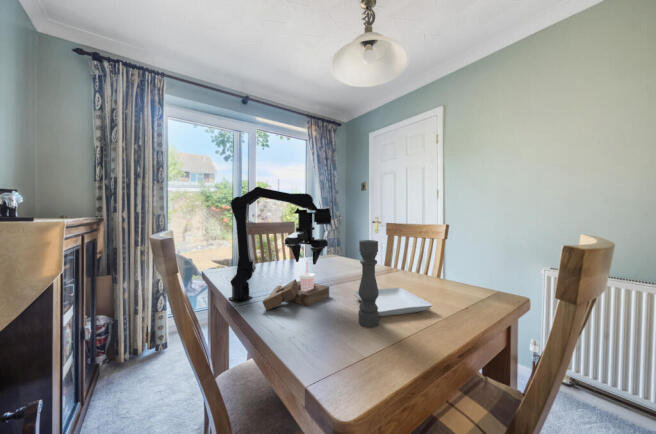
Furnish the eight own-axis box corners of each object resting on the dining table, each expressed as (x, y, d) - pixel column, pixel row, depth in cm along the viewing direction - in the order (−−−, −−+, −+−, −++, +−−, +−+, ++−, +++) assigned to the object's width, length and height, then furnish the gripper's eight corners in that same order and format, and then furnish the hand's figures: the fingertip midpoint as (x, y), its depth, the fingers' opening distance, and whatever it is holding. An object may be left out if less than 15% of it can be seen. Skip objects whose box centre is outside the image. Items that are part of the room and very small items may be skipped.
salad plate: (351, 299, 97) (351, 290, 97) (399, 294, 102) (399, 286, 102) (375, 322, 76) (375, 311, 76) (434, 315, 82) (434, 304, 81)
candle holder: (380, 320, 77) (380, 240, 76) (377, 328, 71) (377, 242, 71) (360, 317, 79) (360, 239, 78) (356, 325, 73) (356, 241, 73)
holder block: (278, 298, 97) (278, 288, 97) (301, 289, 107) (301, 280, 107) (308, 306, 88) (308, 295, 88) (329, 296, 99) (329, 286, 99)
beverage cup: (314, 294, 101) (314, 260, 101) (314, 299, 95) (314, 263, 95) (299, 294, 101) (299, 260, 100) (299, 300, 95) (298, 263, 94)
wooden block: (290, 288, 84) (296, 276, 102) (261, 301, 84) (273, 287, 102) (294, 298, 84) (300, 284, 102) (266, 311, 84) (276, 295, 102)
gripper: (274, 225, 99) (274, 263, 99) (310, 226, 88) (310, 269, 88) (294, 224, 108) (294, 259, 108) (328, 225, 97) (328, 264, 97)
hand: (305, 263), depth 100 cm, fingers open, 9 cm apart
